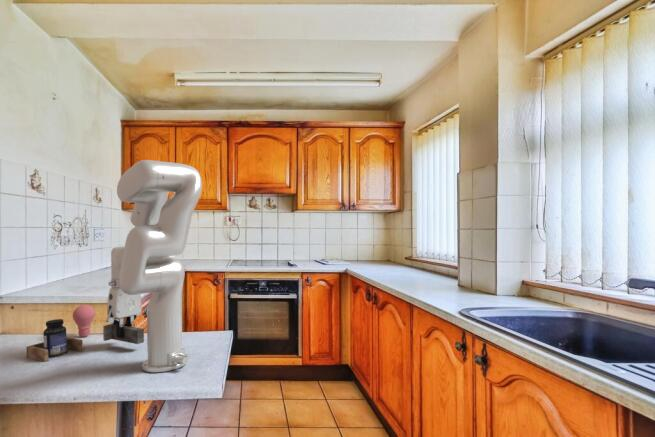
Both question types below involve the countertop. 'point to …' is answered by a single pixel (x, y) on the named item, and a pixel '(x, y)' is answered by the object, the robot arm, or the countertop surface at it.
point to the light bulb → (83, 319)
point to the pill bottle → (55, 338)
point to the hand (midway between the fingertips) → (124, 336)
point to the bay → (42, 354)
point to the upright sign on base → (130, 334)
